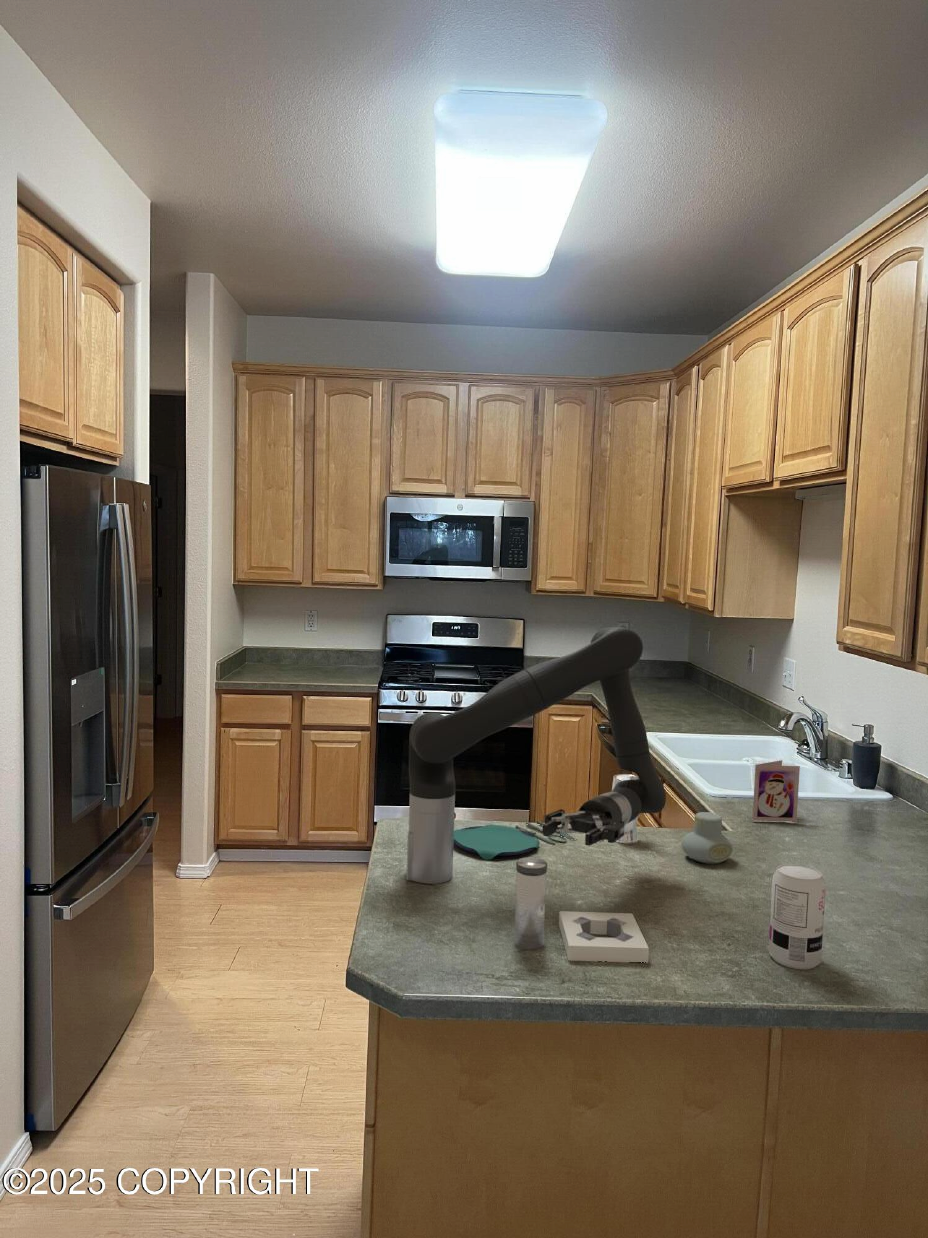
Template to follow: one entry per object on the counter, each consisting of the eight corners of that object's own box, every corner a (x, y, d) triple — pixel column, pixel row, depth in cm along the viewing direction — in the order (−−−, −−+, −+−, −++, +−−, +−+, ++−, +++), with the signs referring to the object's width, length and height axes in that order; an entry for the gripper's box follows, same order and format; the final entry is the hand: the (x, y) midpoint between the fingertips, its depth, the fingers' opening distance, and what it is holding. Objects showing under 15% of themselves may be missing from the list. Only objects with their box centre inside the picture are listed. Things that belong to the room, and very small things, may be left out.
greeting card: (753, 823, 222) (756, 765, 221) (743, 815, 229) (746, 759, 228) (797, 824, 222) (801, 767, 221) (786, 816, 229) (789, 760, 228)
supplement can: (760, 949, 147) (764, 863, 146) (806, 949, 148) (811, 863, 147) (781, 971, 139) (786, 880, 138) (830, 971, 140) (836, 880, 139)
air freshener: (712, 851, 199) (714, 808, 198) (738, 862, 191) (740, 818, 191) (674, 856, 194) (676, 812, 193) (699, 868, 186) (701, 823, 186)
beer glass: (639, 846, 200) (642, 782, 199) (609, 843, 202) (611, 779, 201) (639, 837, 207) (642, 775, 206) (610, 834, 209) (612, 773, 208)
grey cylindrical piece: (514, 949, 144) (517, 867, 143) (512, 936, 149) (515, 857, 148) (545, 950, 144) (548, 868, 143) (542, 937, 149) (545, 857, 148)
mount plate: (568, 960, 141) (568, 945, 140) (558, 925, 155) (559, 911, 154) (648, 963, 141) (648, 948, 140) (631, 927, 155) (632, 913, 154)
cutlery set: (434, 840, 200) (434, 830, 200) (535, 824, 217) (536, 815, 217) (483, 867, 184) (483, 857, 184) (588, 848, 200) (589, 838, 200)
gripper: (573, 789, 172) (531, 808, 159) (640, 801, 164) (602, 822, 150) (572, 826, 172) (530, 848, 159) (639, 840, 164) (601, 864, 151)
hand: (565, 835), depth 155 cm, fingers open, 8 cm apart
